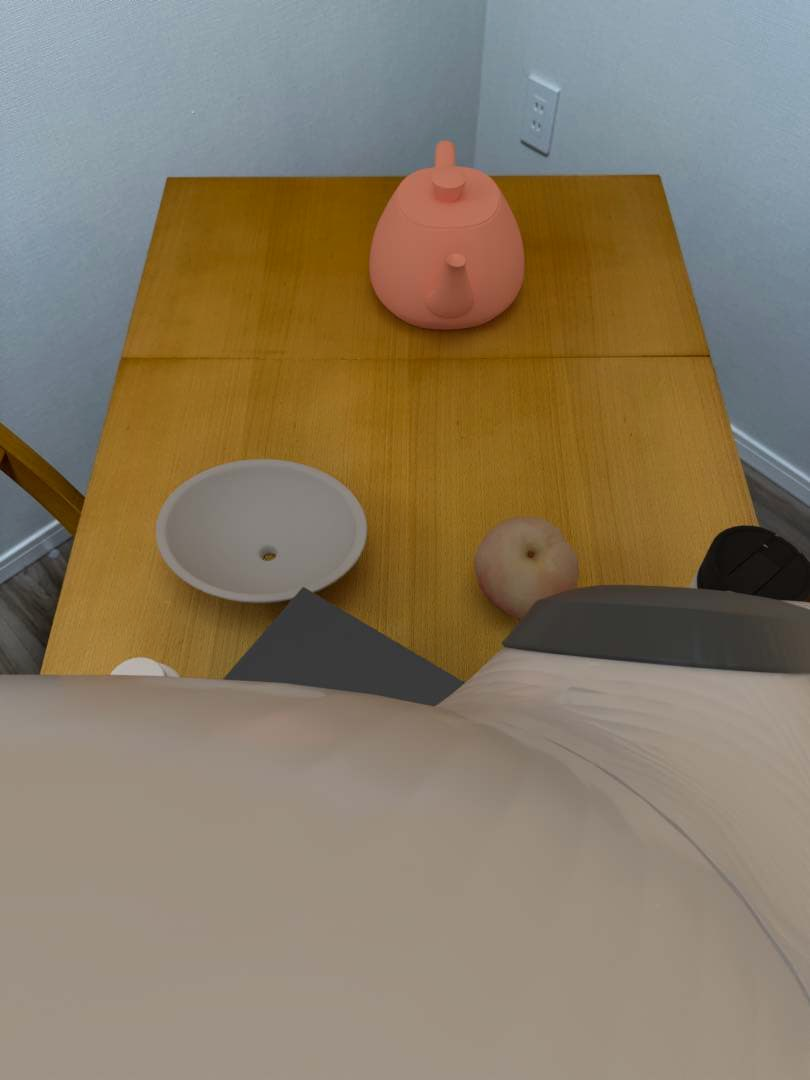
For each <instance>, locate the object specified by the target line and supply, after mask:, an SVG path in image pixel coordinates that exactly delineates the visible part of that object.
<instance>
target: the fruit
mask: <svg viewBox="0 0 810 1080" xmlns="http://www.w3.org/2000/svg"><path fill="white" fill-rule="evenodd" d="M474 573H475V576H476V577H475V578H476V580H477V582H478V585H479V588H480V590H481V591H482V593H483V595H484V596H485V597H486V599H487V600H488V601H489V602H490V603H491V604H493V605H494V606H496V608H499V610H501V611H502V612H504V613H505V614H506V615H508V616H509V617H512V618H515V619H518V620H521V619H522V618H523V617H524V615H525V614H526V613H527V612H528V611H529V609H530V608H531V607H532V606H533V605H534V603H535V602H536V601H538V600H540V599H543V598H546V597H549V596H551V595H554V594H557V593H561V592H565V591H568V590H572V589H576V588H577V586H578V583H579V575H580V563H579V557H578V555H577V553H576V551H575V549H574V547H572V546H571V545H570V544H569V543H568V541H567V540H566V538H565V535H564V534H563V533H562V531H561V530H560V528H558V527H557V525H555V524H553V523H552V522H550V521H548V520H546V519H545V518H544V519H543V518H541V517H536V516H515V517H511V518H507V519H505V520H503V521H501V522H500V523H498V524H497V525H495V526H493V528H492V529H490V530H489V531H488V532H487V533H486V534H485V535H484V537H483V538H482V540H481V542H480V544H479V545H478V547H477V551H476V553H475V556H474Z"/></svg>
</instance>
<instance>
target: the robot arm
mask: <svg viewBox="0 0 810 1080" xmlns="http://www.w3.org/2000/svg"><path fill="white" fill-rule="evenodd" d="M501 645H502V648H500V649H499V650H498V651H497V652H496V653H494V655H493V656H492V657H491V658H490V659H489V660H488V661H487V662H486V663H485V664H484V665H483V666H482V667H481V668H480V669H479V670H478V671H476V672H475V673H474V674H473V675H472V676H471V677H470V678H468V680H466V681H464V682H465V683H464V684H463V685H462V686H461V687H460V688H459V689H457V690H456V691H455V692H454V693H453V694H451V695H450V696H449V697H447V698H446V699H445V700H443V701H442V702H440V703H439V704H438V705H436V706H429V705H424V704H419V703H414V702H409V701H404V700H399V699H394V698H389V697H383V696H378V695H372V694H365V693H357V692H349V691H341V690H334V689H326V688H318V687H310V686H302V685H295V684H287V683H273V682H256V681H239V680H223V679H221V678H220V679H219V678H205V677H204V678H203V677H187V676H186V677H185V676H180V677H171V676H144V675H110V674H1V673H0V1080H810V602H809V601H808V602H807V601H805V602H800V601H783V600H775V599H771V598H765V597H760V596H754V595H747V594H741V593H735V592H730V591H718V590H708V589H697V588H689V587H682V586H681V587H680V586H664V585H644V584H599V585H591V586H583V587H576V588H575V589H572V590H568V591H565V592H561V593H557V594H554V595H551V596H549V597H546V598H543V599H540V600H538V601H536V602H535V603H534V605H533V606H532V607H531V608H530V609H529V611H528V612H527V613H526V614H525V615H524V617H523V618H522V619H519V621H518V622H517V624H516V625H515V626H514V627H513V629H512V630H511V631H510V632H509V633H508V634H507V636H506V637H505V638H504V639H503V640H502V642H501Z"/></svg>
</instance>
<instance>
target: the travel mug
mask: <svg viewBox="0 0 810 1080" xmlns="http://www.w3.org/2000/svg"><path fill="white" fill-rule="evenodd" d="M688 588H697V589H708V590H718V591H730V592H735V593H741V594H747V595H754V596H760V597H765V598H771V599H775V600H783V601H800V602H807V601H808V599H809V598H810V560H809V559H808V557H806V555H805V554H804V553H803V552H802V551H801V552H800V550H799V549H798V548H797V547H796V546H795V545H793V544H792V543H791V542H790V541H788V540H786V539H785V538H783V537H781V536H779V535H777V532H775V531H772V530H770V529H768V528H765V527H762V526H758V525H750V524H749V525H747V524H744V525H743V524H742V525H734V526H731V527H728V528H725V529H724V530H722V531H719V533H718V534H717V535H716V536H715V537H714V538H713V540H712V541H711V544H710V546H709V548H708V549H707V551H706V554H705V556H704V558H703V559H702V561H701V562H700V564H699V566H698V568H697V570H696V572H695V574H694V576H693V578H692V580H691V582H690V584H689V587H688Z"/></svg>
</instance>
